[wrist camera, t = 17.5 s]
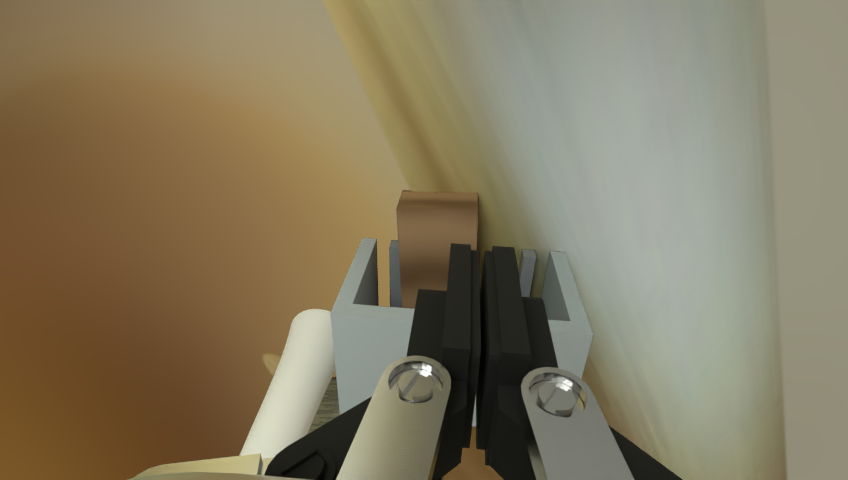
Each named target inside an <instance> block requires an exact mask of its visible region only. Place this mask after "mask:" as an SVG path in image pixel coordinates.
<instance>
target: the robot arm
mask: <svg viewBox="0 0 848 480" xmlns="http://www.w3.org/2000/svg"><path fill="white" fill-rule="evenodd" d="M475 397H476V448H477V449H483V450H485V465H490V466H491V467H492V468H493V469H494V470H495V471H496V472H497V473H498V474H499V475H500V476H501V477H502V478H503V480H682V479H681V478H680V477H678V476H677V475H675V474H674V473H673V472H671V471H670V470H669V469H667V468H666V467H665V466H663V465H662V464H660V463H659V462H658V461H656V460H655V459H654V458H652V457H651V456H650V455H648V454H647V453H646V452H644V451H643V450H641V449H640V448H639V447H637V446H636V445H635V444H633V443H632V442H631V441H629V440H628V439H626V438H625V437H624V436H622V435H621V434H620V433H618V432H617V431H616V430H614V429H613V428H612V427H610V426H609V425H608V424H607V422H606V419H605V417H604V415H603V413H602V411H601V409H600V407H599V405H598V403H597V401H596V399H595V397H594V394H593V392H592V391H591V390H590V388H589V387H588V385H587V384H586V383H585V382H584V381H583V380H582V379H580V378H579V377H578V376H576V375H574V374H572V373H571V372H569V371H566V370H563V369H560V368H558V363H557V359H556V354H555V350H554V345H553V341H552V336H551V332H550V327H549V323H548V318H547V314H546V309H545V305H544V301H543V299H542V298H534V297H522V293H521V287H520V280H519V274H518V268H517V261H516V255H515V249H514V248H513V247H499V246H493V249H492V251H485V253H484V261H483V270H482V279H481V288H480V286H479V251H478V250H471V245H470V244H456V243H451V247H450V259H449V271H448V283H447V291H443V290H430V289H418V293H417V299H416V305H415V310H414V316H413V322H412V327H411V333H410V339H409V344H408V350H407V356H406V357H402V358H400V359H398V360H395V361H394V362H392V363H391V364H390V365H388V366H387V367H386V369H385V370H384V372H383V373H382V375H381V378H380V380H379V382H378V385H377V387H376V389H375V391H374V394H373V396H371V397H370V398H368V399H366V400H365V401H363V402H361V403H360V404H358V405H356V406H354V407H353V408H351V409H349V410H348V411H346V412H344V413H343V414H341V415H339V416H338V417H336V418H334V419H333V420H331V421H329V422H327V423H326V424H324V425H322V426H321V427H319V428H317V429H316V430H314V431H312V432H311V433H309V434H307V435H306V436H304V437H302V438H300V439H299V440H297V441H295V442H294V443H292V444H290V445H289V446H287V447H286V448H284V449H283V450H282V451H280V452H279V453H278V454H276V456H275V457H274V458H266V459H262V457H261V453H260V454H251V455H243V456H234V457H225V458H217V459H208V460H199V461H190V462H183V463H173V464H165V465H160V466H156V467H153V468H150V469H147V470H146V471H144V472H142V473H140V474H139V475H137V476H135V477H134V478H132V479H129V480H443V478H444V475H446V474H447V473H448V472H449V471H451V470H452V469H453V468H454V467H456V466H457V465H458V464H459V463H461V454H462V447H463V448H469V446H470V438H471V430H472V422H473V413H474V405H475Z"/></svg>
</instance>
